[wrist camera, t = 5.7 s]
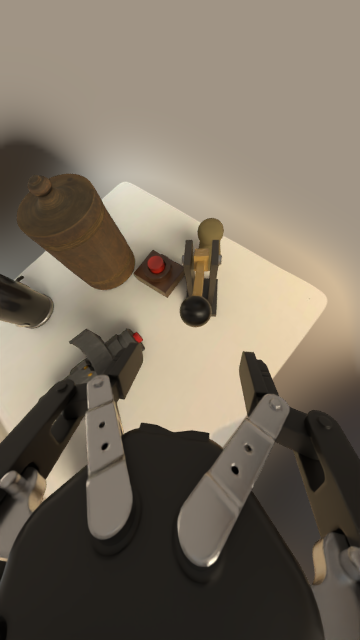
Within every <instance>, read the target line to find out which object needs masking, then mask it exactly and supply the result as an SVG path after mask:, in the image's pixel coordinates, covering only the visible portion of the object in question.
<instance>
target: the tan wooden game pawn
mask: <svg viewBox="0 0 360 640" xmlns="http://www.w3.org/2000/svg"><path fill="white" fill-rule="evenodd" d="M197 232H198V238H199V240H200V244H199V249H209V262H208V271H210V264H211V252H212V240H219V255H221V254H220V240H221V238H222V237H223V232H224V229H223V225H222V223H221V222H220V221H219V220H217V219H214V218H209V219H206V220H204V221H203V222H202V223H201V224H200V225H199V228H198V231H197ZM218 266H219V265H218Z"/></svg>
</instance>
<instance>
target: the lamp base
mask: <svg viewBox="0 0 360 640" xmlns="http://www.w3.org/2000/svg"><path fill="white" fill-rule="evenodd" d="M153 256H160V257H161V258H162V259H163V262H164V265H165V268H164V270H163V271H162V272H161V273H158V274H155V273H152V272H151V271H150V269H149V267H148V260H149V259H150V258H151V257H153ZM134 275H135V277H136V278H137V279H138V280H139V281H141V282H143V283H144V284H146V285H147V286H149V287H151V288H152V289H154V290H155V291H157V292H159V293H160V294H162V295H163V296H165V297H167V298H168V296H169V295H170V294H171V292H172V291H173V290H174V288H175V287H176V286H177V285H178V283H179V282H180V281H181V279H182V278H183V277H184V275H185V271H184V267H183V266H182V265H180V264H178V263H176V262H174V261H172V260H170V259H169V258H168V257H166V256H164V255H163V254H159V253H158V252H156V251H154V250H152V252H151V253H150V254H149V255H148V256H147V258H146V259H145V260H144V261H143V263H142V264H141V265H140V266H139V267H138V269H137V270H136V271H135V272H134Z"/></svg>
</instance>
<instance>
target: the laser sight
mask: <svg viewBox="0 0 360 640" xmlns="http://www.w3.org/2000/svg"><path fill="white" fill-rule="evenodd" d="M141 341H143V339H142V337H141V336H140V335H139V334H138V333H137V332H136V333H133V332H132V331H131V330H130V329H126V330H125V331H123V332H122V334H121V335H117V334H116V335H115V336H114V337H112V338H111V339H110V340H109V341H107V342H106V343H104V342H103V340H102V339H101V337H100V336H98V335H97V334H95V333H93V332H91V331H90V330H88V329H85V330H84V331H83V332H81V333H80V334H79V335H77V336H76V337H75V338H73V339H72V340H71V341H70V342H69V343H70V344H73V345H75V346H76V347H78V348H79V349H80V350H81V351H82V352H83V353H84V354H85V355H86V357H87V358H86V359H84V360H83V361H82V362H81V363H79V364H78V365H77V366H76V367H74V368H73V369H72V370H71V372H70V375H69V376H68V377H66V378H65V379H64V380H66V379H71V380H73V381H74V383H75V385H76V384H82V383H88V382H89V380H90V379H92V378H93V377H95V376H97V375H101V374H102V373H103V372H104V370H105V369H106V368H107V366H108V365H109V363H110V362H111V361H112V359H113V358H114V357H115V355H116V354H117V353H118V351H120V350H121V349H123V348H127V346H128V345H129V343H130V342H138V343H141ZM141 348H142V351H143V350H145V348H144V346H143V344H142V343H141ZM42 398H43V396H42V397H41V398H40V399H39V401H40V400H41V399H42ZM39 401H38V402H39ZM60 414H61V413H60ZM58 417H59V416H58ZM58 417H57V418H58Z"/></svg>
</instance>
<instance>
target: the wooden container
mask: <svg viewBox="0 0 360 640" xmlns="http://www.w3.org/2000/svg"><path fill="white" fill-rule="evenodd" d="M28 189H29V190H30V192H29V193H28V194H27V195H26V196H25V198H24V199H23V200H22V202H21V204H20V206H19V208H18V211H17V223H18V226H19V227H20V229H21V230H22V231H23V232H24V233H25V234H26V235H27V236H29V237H30V238H31V239H32V240H33V241H35V242H36V243H37V244H39V245H40V246H41V247H43V248H44V249H45V250H46V251H47V252H49V253H50V254H51V255H52V256H54V257H55V258H56V259H57V260H58V261H60V262H61V263H62V264H63V265H64V266H66V267H67V268H68V269H69V270H71V271H72V272H73V273H74V274H76V275H77V276H78V277H80V278H81V279H82V280H84V281H85V282H86V283H88V284H89V285H90V286H92V287H94V288H96V289H100V290H108V289H112V288H115V287H117V286H119V285H121V284H123V283H124V282H125V281H126V280H127V279H128V278H129V277H130V275H131V274H132V272H133V270H134V266H135V258H134V254H133V252H132V251H131V249H130V247H129V245H128V244H127V242H126V240H125V238H124V237H123V235H122V233H121V232H120V230H119V229H118V227H117V225H116V224H115V222H114V221H113V219H112V218H111V216H110V214H109V213H108V211H107V210H106V208H105V206H104V205H103V202H102V200H101V198H100V196H99V195H98V193H97V191H96V190H95V188H94V186H93V185H92V184H91V182H90V181H89V180H88V179H87V178H85V177H83V176H80V175H76V174H62V175H57V176H54V177H51V178H49V179H48V178H46V177H44V176H38V175H34V176H32V177H31V178H30V179H29V182H28Z"/></svg>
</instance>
